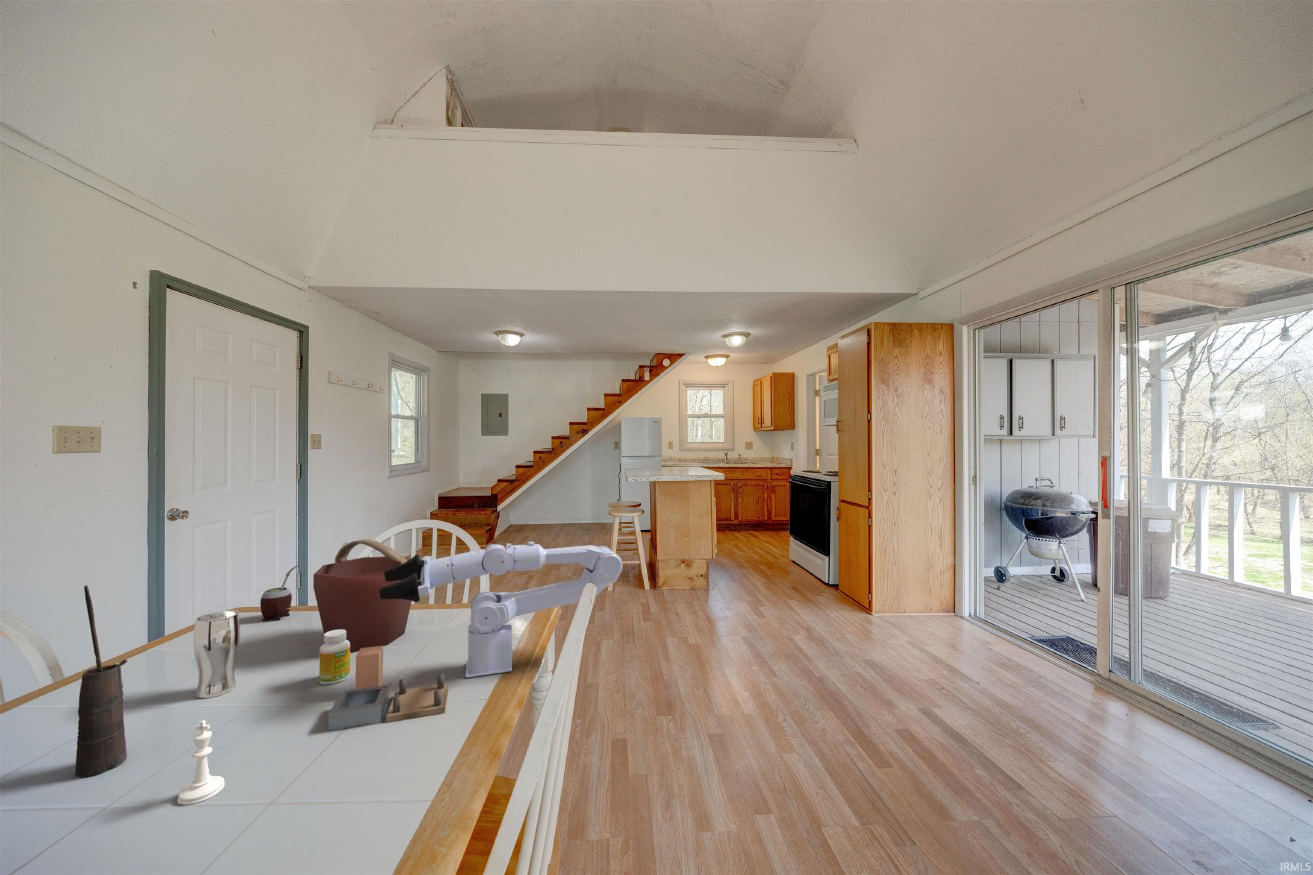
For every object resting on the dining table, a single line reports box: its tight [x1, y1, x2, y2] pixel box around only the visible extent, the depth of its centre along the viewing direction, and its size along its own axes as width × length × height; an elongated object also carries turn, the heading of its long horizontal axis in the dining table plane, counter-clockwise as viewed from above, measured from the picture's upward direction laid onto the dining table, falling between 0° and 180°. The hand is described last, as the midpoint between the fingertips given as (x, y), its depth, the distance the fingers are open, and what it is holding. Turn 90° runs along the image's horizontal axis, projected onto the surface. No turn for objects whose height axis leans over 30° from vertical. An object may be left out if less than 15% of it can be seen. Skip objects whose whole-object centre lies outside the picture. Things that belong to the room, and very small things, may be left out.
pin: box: [354, 646, 384, 690], centre depth 99 cm, size 4×4×8 cm
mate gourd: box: [259, 564, 300, 622], centre depth 140 cm, size 8×8×15 cm
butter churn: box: [74, 584, 128, 778], centre depth 77 cm, size 9×10×28 cm
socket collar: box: [328, 684, 391, 732], centre depth 90 cm, size 8×8×3 cm
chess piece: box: [177, 719, 226, 806], centre depth 70 cm, size 5×5×10 cm
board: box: [385, 673, 450, 723], centre depth 93 cm, size 10×10×4 cm
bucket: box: [312, 539, 413, 654], centre depth 125 cm, size 24×22×25 cm
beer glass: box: [192, 609, 241, 699], centre depth 99 cm, size 7×7×15 cm
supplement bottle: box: [318, 629, 351, 685], centre depth 104 cm, size 5×5×10 cm
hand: (382, 585), depth 102 cm, fingers open, 7 cm apart
